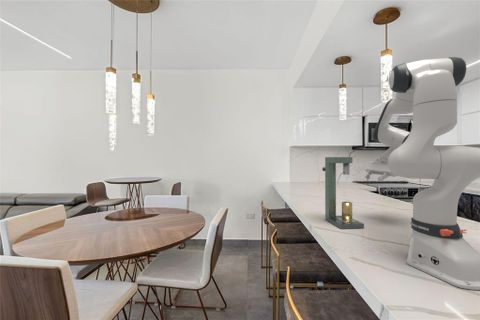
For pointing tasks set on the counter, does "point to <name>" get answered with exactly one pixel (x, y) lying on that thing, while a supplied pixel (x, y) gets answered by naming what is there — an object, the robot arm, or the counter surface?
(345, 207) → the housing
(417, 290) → the counter surface
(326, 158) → the press
